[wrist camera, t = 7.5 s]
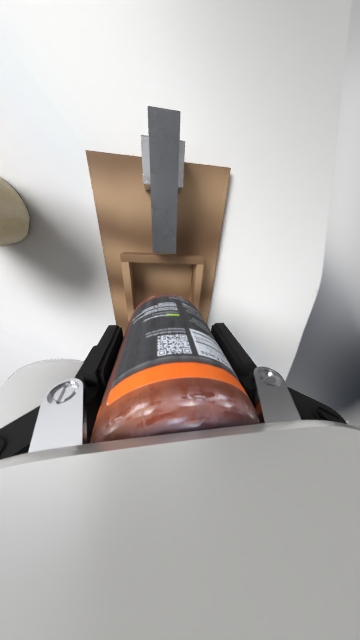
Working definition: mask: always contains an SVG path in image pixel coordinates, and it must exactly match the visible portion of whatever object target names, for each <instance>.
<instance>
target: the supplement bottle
mask: <svg viewBox="0 0 360 640" xmlns="http://www.w3.org/2000/svg"><path fill="white" fill-rule="evenodd" d="M253 424H260V423H259V419H258V416H257V413H256V410H255V408H254V406H253V404H252V402H251V400H250V399H249V397H248V395H247V393H246V392H245V390H244V388H243V387H242V385H241V384H240V382H239V379H238V377H237V376H236V374H235V373H234V371H233V369H232V367H231V366H230V364H229V362H228V361H227V359H226V357H225V355H224V354H223V352H222V350H221V349H220V347H219V345H218V343H217V342H216V340H215V338H214V337H213V335H212V333H211V331H210V329H209V328H208V326H207V324H206V323H205V321H204V319H203V317H202V315H201V314H200V312H199V311H198V310H197V308H196V307H195V306H194V305H193V304H192V303H191V302H190V301H188V300H187V299H185V298H183V297H181V296H178V295H172V294H160V295H156V296H153V297H150V298H148V299H146V300H144V301H143V302H142V303H141V304H140V305H139V306H138V307H137V308H136V309H135V310H134V312H133V314H132V316H131V318H130V321H129V323H128V326H127V328H126V332H125V335H124V338H123V341H122V343H121V346H120V349H119V352H118V355H117V358H116V361H115V364H114V367H113V370H112V373H111V376H110V379H109V381H108V384H107V388H106V390H105V393H104V396H103V399H102V402H101V406H100V409H99V412H98V415H97V418H96V421H95V424H94V428H93V431H92V436H91V440H90V443H98V442H106V441H114V440H123V439H131V438H139V437H147V436H156V435H165V434H173V433H182V432H190V431H199V430H208V429H217V428H226V427H235V426H244V425H253Z"/></svg>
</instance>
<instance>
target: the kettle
mask: <svg viewBox="0 0 360 640" xmlns="http://www.w3.org/2000/svg"><path fill="white" fill-rule="evenodd" d="M83 363H84V361H79V360H72V359H50V360H43V361H38V362H34V363H31V364H28V365H26V366H24V367H22V368H20V369H18V370H17V371H16V372H14V373H13V374H12V375H11V376H10V377H9V378H8V380H7V381H6V382H5V383H4V384H3V385H2V386H1V387H0V428H2V427H4V426H6V425H7V424H9V423H11V422H12V421H14V420H16V419H18V418H19V417H21V416H23V415H24V414H26V413H28V412H29V411H31V410H33V409H35V408H36V407H38V406H40V405H41V402H42V398H43V396H44V394H45V393H46V392H47V391H48V389H50V388H51V387H52V386H53V385H55V384H57V383H58V382H60V381H63V380H66V379H70V378H74V377H75V376H76V374H77V372H78V371H79V369H80V368H81V366H82V364H83Z"/></svg>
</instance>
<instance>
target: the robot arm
mask: <svg viewBox="0 0 360 640" xmlns="http://www.w3.org/2000/svg"><path fill="white" fill-rule="evenodd" d="M211 333H212V335H213V337H214V338H215V340H216V342H217V343H218V345H219V347H220V349H221V350H222V352H223V354H224V355H225V357H226V359H227V361H228V362H229V364H230V366H231V367H232V369H233V371H234V373H235V374H236V376H237V377H238V379H239V382H240V384H241V385H242V387H243V388H244V390H245V392H246V393H247V395H248V397H249V399H250V400H251V402H252V404H253V406H254V408H255V410H256V413H257V416H258V419H259V423H260V424H253V425H244V426H235V427H226V428H217V429H208V430H199V431H190V432H182V433H173V434H165V435H156V436H147V437H139V438H131V439H123V440H114V441H106V442H98V443H90V440H91V436H92V431H93V428H94V424H95V421H96V418H97V415H98V412H99V409H100V406H101V402H102V399H103V396H104V393H105V390H106V388H107V384H108V381H109V379H110V376H111V373H112V370H113V367H114V364H115V361H116V358H117V355H118V352H119V349H120V346H121V343H122V341H123V338H124V337H123V330H122V327H119V326H118V325H109V326H108V328H107V329H106V331H105V333H104V335H103V336H102V338H101V340H100V342H99V343H98V345H97V346H94V347H93V348H92V349H91V351H90V353H89V354H88V356H87V358H86V359H85V361H84V363H83V364H82V366H81V368H80V369H79V371H78V372H77V374H76V376H75V377H74V378H70V379H66V380H63V381H60V382H58V383H57V384H55V385H53V386H52V387H51V388H50V389H48V391H47V392H46V393H45V394H44V396H43V398H42V402H41V405H40V406H38V407H36V408H35V409H33V410H31V411H29V412H28V413H26V414H24V415H23V416H21V417H19V418H18V419H16V420H14V421H12V422H11V423H9V424H7V425H6V426H4V427H2V428H0V640H360V426H359V425H357V424H355V423H353V422H351V421H347V422H345V420H344V419H343V418H342V417H341V416H340V415H339V414H338V413H337V412H336V411H334V410H333V409H331V408H330V407H328V406H326V405H324V404H322V403H320V402H318V401H316V400H314V399H312V398H310V397H308V396H306V395H303V394H301V393H299V392H297V391H295V390H293V389H291V388H289V387H287V385H286V383H285V381H284V379H283V378H282V376H281V375H280V374H279V373H277V372H276V371H274V370H272V369H270V368H267V367H257V366H256V365H255V364H254V362H253V361H252V360H251V358H250V357H249V356H248V354H247V353H246V352H245V350H244V349H243V348H242V347H241V345H240V344H239V343H238V341H237V340H236V339H235V337H234V336H233V335H232V333H231V332H230V331H229V330H228V328H227V327H226V326H225V324H224V323H215V324H214V325H212V329H211Z"/></svg>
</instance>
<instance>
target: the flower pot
mask: <svg viewBox="0 0 360 640" xmlns="http://www.w3.org/2000/svg"><path fill="white" fill-rule="evenodd" d="M29 221H30V216H29V213H28V210H27V208H26V206H25V204H24V202H23V200H22V199H21V197H20V196H19V195H18V193H17V192H16V191H15V190H14V189H13V188H12V187H11V186H10V185H9V184H8V183H7V182H6V181H4V180H3V179H2V178H0V246H4V245H8V244H12V243H16V242H19V241H21V240H23V239H24V238H25V237H26V236H27V235H28V229H29Z"/></svg>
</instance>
